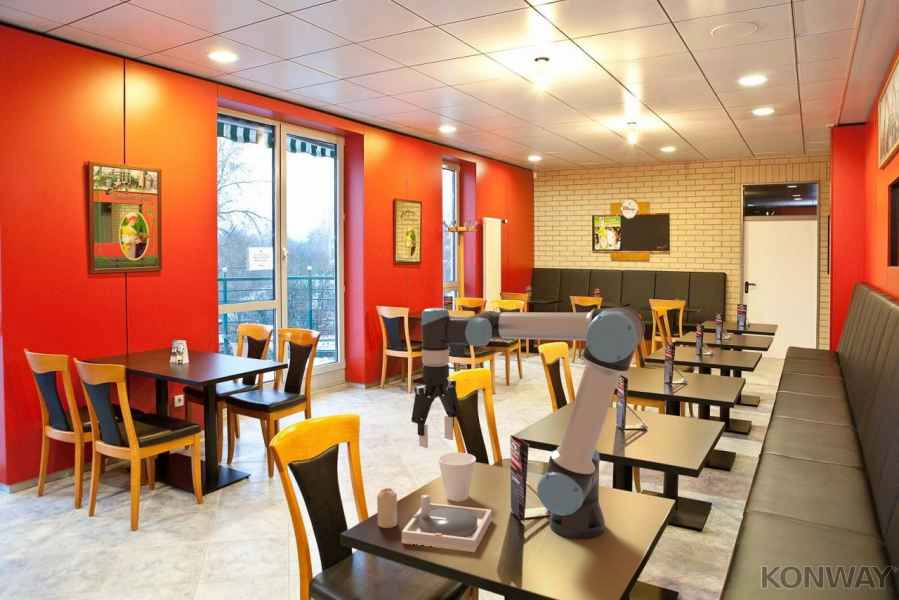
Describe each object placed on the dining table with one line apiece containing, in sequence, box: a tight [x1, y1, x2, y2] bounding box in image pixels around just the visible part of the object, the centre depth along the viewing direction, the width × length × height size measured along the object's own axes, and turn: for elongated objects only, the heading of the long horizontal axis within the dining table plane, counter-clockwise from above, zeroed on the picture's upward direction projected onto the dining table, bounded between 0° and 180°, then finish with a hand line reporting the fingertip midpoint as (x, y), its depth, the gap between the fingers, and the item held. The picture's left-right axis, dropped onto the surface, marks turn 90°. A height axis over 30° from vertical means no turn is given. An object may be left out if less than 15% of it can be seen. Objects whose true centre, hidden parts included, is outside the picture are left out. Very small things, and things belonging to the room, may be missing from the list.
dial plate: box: [401, 502, 492, 553], centre depth 184 cm, size 20×20×4 cm
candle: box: [376, 487, 398, 529], centre depth 189 cm, size 6×6×10 cm
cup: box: [437, 452, 477, 502], centre depth 208 cm, size 12×12×12 cm
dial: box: [419, 494, 477, 537], centre depth 184 cm, size 16×16×8 cm
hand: (436, 442), depth 188 cm, fingers open, 9 cm apart
